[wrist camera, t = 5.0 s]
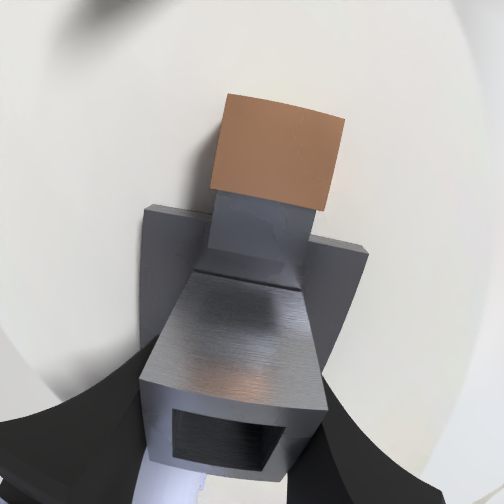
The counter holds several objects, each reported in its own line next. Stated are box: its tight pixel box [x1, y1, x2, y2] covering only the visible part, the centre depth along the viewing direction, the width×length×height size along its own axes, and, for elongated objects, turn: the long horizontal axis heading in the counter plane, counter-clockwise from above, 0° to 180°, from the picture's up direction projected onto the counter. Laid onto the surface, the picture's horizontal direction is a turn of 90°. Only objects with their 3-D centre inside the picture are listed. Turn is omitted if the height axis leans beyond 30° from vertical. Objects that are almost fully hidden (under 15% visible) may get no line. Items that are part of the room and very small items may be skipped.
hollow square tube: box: [139, 272, 328, 482], centre depth 9 cm, size 4×4×6 cm
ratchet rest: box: [140, 94, 369, 373], centre depth 11 cm, size 14×9×4 cm, turn 169°
